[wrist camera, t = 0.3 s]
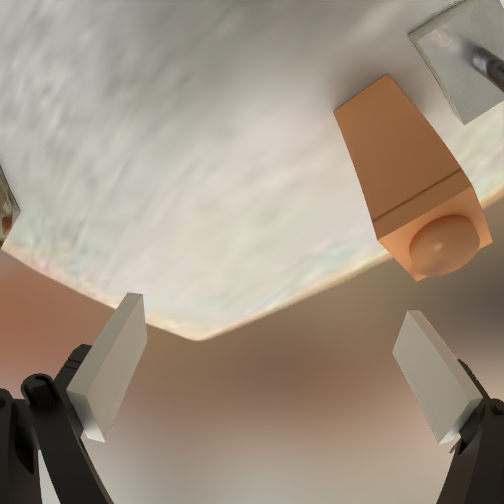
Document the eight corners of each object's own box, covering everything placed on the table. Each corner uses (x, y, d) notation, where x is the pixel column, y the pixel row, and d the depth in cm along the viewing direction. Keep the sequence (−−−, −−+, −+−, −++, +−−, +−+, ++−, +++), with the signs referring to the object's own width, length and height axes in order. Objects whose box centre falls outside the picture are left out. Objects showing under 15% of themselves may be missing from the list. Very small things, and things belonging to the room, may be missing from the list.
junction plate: (407, 35, 15) (460, 71, 11) (484, -10, 10) (551, 17, 6) (455, 115, 19) (499, 170, 15) (520, 74, 14) (574, 120, 10)
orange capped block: (333, 111, 20) (381, 254, 13) (386, 73, 17) (480, 199, 10) (370, 153, 23) (420, 293, 15) (419, 121, 20) (497, 253, 12)
